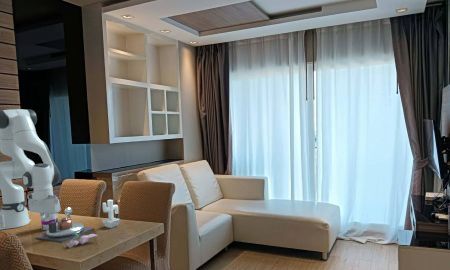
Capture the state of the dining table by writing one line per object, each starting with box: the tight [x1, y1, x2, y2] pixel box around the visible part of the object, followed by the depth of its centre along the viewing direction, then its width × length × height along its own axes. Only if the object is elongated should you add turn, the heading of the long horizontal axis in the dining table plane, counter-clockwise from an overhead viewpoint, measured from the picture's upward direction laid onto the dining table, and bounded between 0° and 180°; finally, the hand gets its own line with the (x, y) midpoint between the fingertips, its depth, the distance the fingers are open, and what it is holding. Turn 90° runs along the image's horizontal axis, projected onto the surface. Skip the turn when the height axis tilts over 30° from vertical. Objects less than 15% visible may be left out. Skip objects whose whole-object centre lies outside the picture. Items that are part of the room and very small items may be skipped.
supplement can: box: [40, 213, 59, 231], centre depth 189 cm, size 8×8×15 cm
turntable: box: [45, 222, 85, 237], centre depth 176 cm, size 18×18×7 cm
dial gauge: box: [63, 207, 73, 219], centre depth 187 cm, size 5×6×11 cm
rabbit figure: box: [63, 233, 98, 250], centre depth 159 cm, size 6×6×15 cm
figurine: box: [101, 199, 121, 229], centre depth 186 cm, size 7×9×15 cm
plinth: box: [35, 226, 95, 243], centre depth 177 cm, size 20×20×1 cm
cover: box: [57, 217, 73, 230], centre depth 176 cm, size 7×7×5 cm
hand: (45, 221), depth 172 cm, fingers closed
